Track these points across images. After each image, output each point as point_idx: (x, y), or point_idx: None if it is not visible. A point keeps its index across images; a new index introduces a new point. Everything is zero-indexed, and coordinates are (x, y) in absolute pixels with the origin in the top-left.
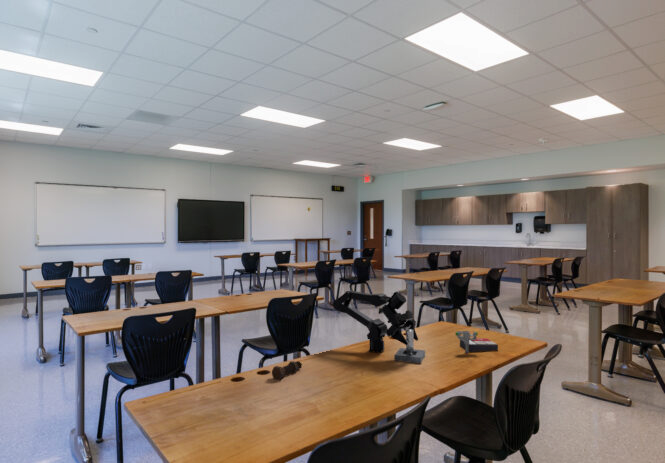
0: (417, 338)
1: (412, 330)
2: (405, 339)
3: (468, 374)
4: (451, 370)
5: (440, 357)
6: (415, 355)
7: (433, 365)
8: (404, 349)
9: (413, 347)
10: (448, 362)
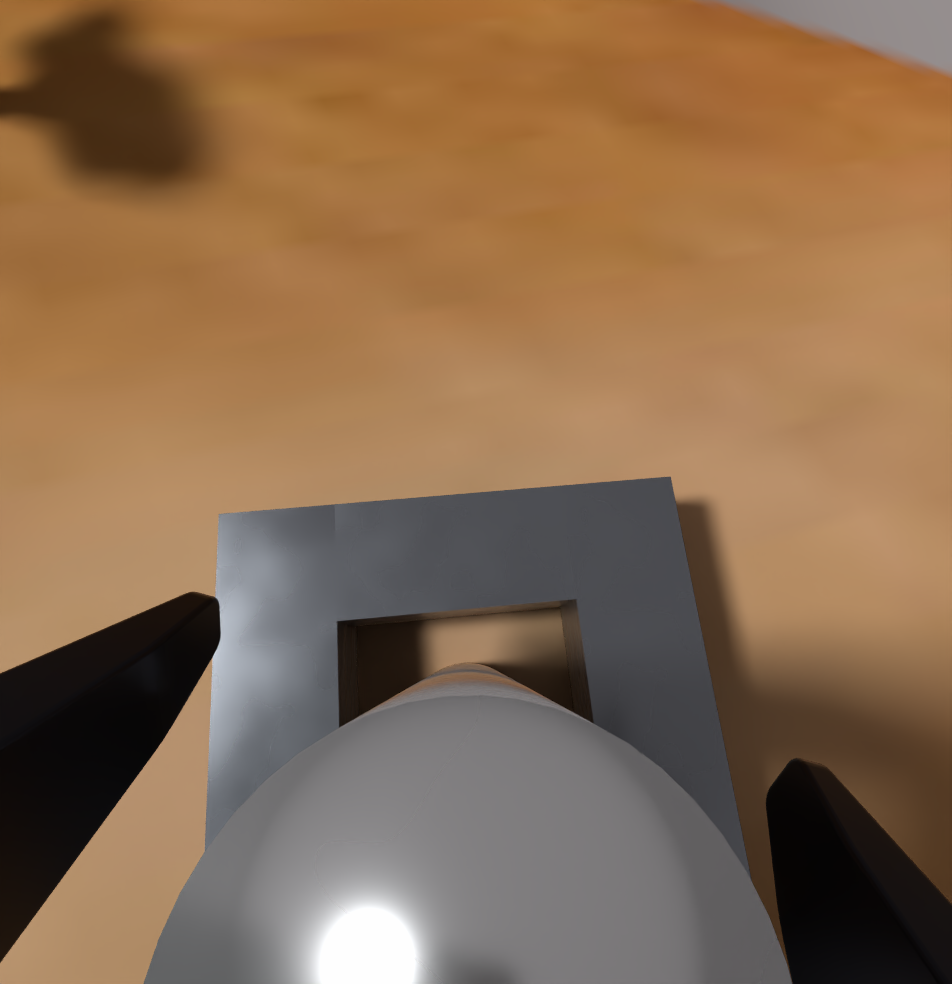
0: (190, 611)
1: (479, 759)
2: (905, 905)
3: (718, 21)
4: (695, 153)
5: (268, 330)
6: (592, 590)
7: (634, 342)
8: None
9: (470, 666)
10: (437, 218)
